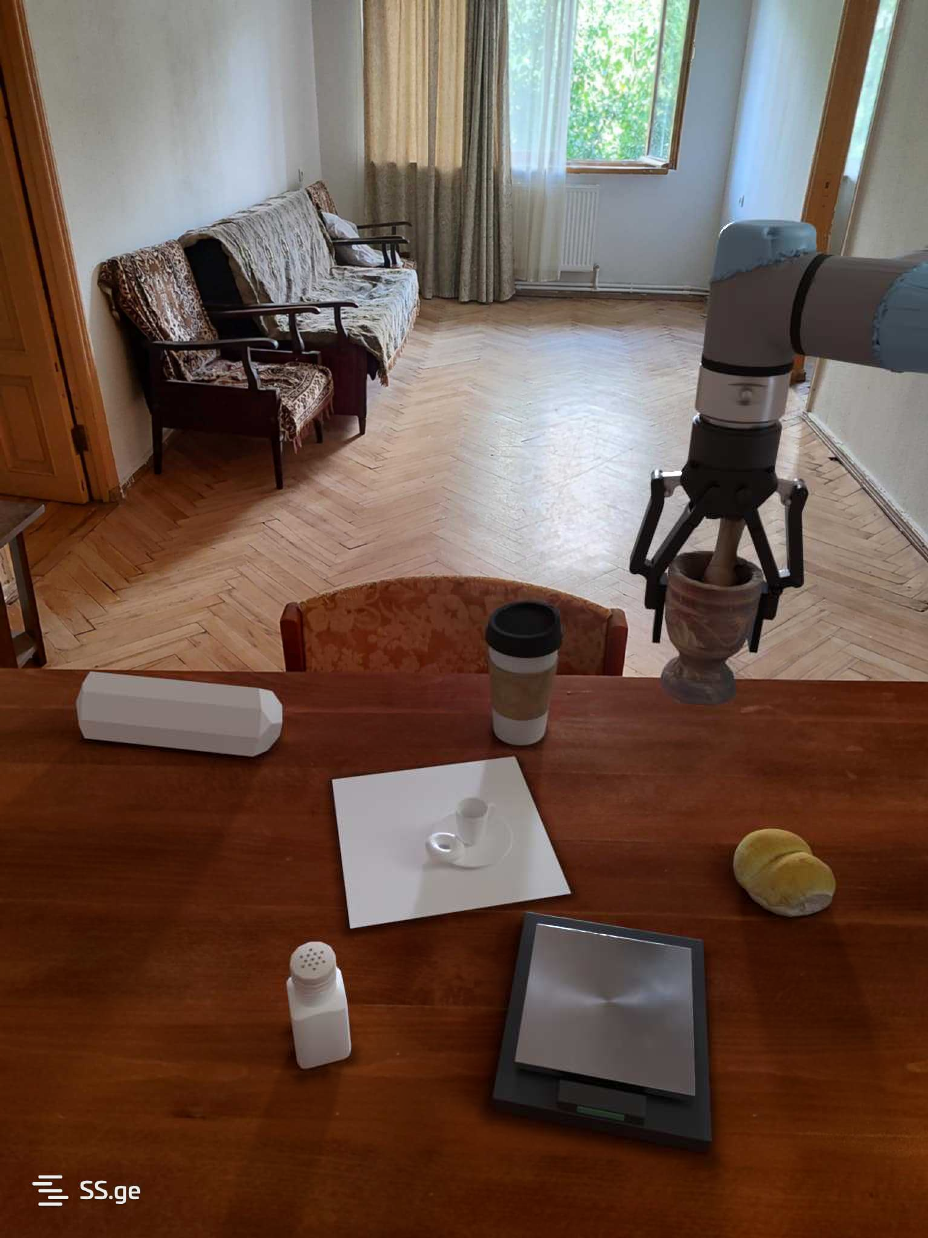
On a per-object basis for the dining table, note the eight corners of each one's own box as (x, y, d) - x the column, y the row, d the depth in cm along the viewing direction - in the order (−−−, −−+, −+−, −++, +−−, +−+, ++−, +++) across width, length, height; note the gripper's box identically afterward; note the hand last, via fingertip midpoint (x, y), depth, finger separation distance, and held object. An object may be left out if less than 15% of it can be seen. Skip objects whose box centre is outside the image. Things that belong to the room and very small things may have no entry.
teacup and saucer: (430, 878, 81) (429, 845, 79) (416, 819, 88) (415, 787, 86) (521, 864, 83) (523, 832, 81) (501, 807, 90) (502, 776, 88)
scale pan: (690, 955, 72) (691, 948, 71) (693, 1102, 61) (695, 1096, 61) (536, 929, 74) (536, 923, 74) (514, 1068, 63) (514, 1061, 63)
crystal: (50, 722, 95) (263, 745, 92) (73, 663, 99) (280, 683, 95) (80, 748, 101) (281, 771, 98) (102, 692, 105) (296, 712, 102)
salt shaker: (352, 1060, 66) (345, 976, 61) (299, 1074, 65) (287, 990, 60) (343, 1014, 69) (336, 931, 64) (292, 1027, 68) (280, 943, 63)
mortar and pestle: (653, 645, 95) (672, 468, 85) (735, 651, 94) (765, 472, 84) (656, 706, 85) (679, 514, 75) (748, 714, 84) (784, 519, 74)
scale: (700, 952, 75) (705, 933, 73) (708, 1154, 60) (713, 1134, 59) (524, 923, 77) (526, 904, 76) (491, 1110, 63) (492, 1090, 61)
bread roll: (787, 839, 86) (795, 808, 84) (846, 907, 79) (856, 875, 77) (712, 856, 84) (719, 824, 82) (766, 928, 77) (774, 895, 75)
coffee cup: (571, 735, 100) (581, 621, 93) (511, 762, 96) (517, 644, 89) (525, 700, 106) (531, 590, 99) (468, 723, 102) (469, 610, 95)
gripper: (611, 421, 75) (592, 649, 86) (877, 436, 71) (822, 672, 82) (615, 398, 81) (597, 612, 92) (860, 410, 78) (811, 632, 89)
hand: (703, 640), depth 87 cm, fingers closed on mortar and pestle, 8 cm apart
